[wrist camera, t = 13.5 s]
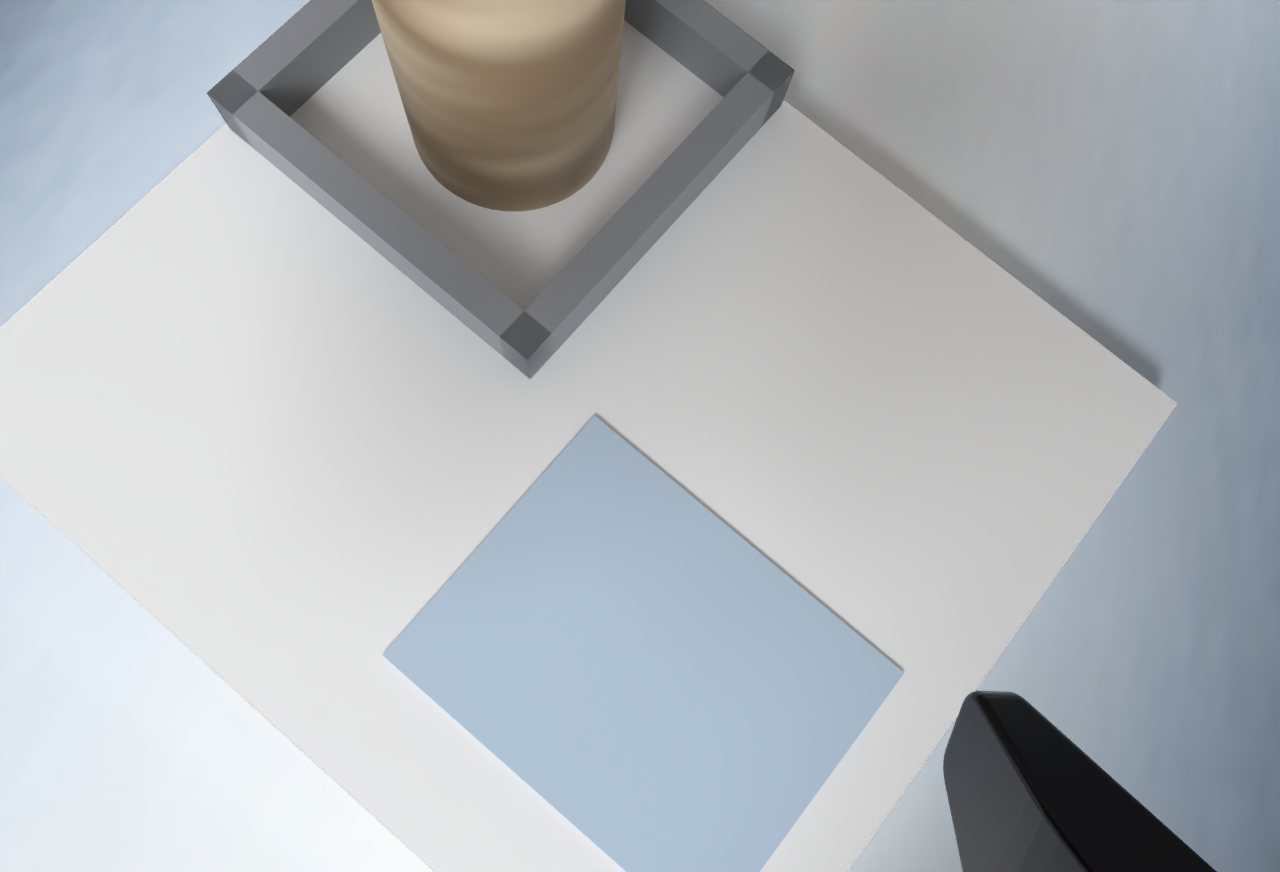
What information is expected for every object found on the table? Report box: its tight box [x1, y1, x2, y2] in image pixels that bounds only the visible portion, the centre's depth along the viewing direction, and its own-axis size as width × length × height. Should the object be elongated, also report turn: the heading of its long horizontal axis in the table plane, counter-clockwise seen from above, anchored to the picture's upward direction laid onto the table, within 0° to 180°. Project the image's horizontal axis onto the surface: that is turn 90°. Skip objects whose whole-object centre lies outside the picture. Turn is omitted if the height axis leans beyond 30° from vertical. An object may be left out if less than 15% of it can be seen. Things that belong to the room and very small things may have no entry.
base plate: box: [0, 0, 1178, 872], centre depth 22 cm, size 22×19×2 cm
